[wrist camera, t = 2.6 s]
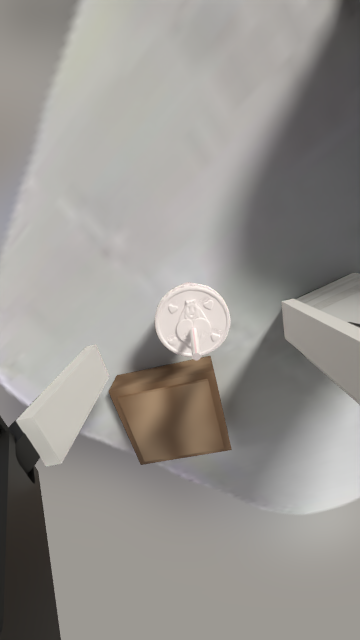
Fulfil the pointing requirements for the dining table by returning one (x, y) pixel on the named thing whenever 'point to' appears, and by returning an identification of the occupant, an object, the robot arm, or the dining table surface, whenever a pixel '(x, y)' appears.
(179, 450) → the walnut tray
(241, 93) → the dining table surface
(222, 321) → the smoothie
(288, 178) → the dining table surface
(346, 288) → the supplement box
